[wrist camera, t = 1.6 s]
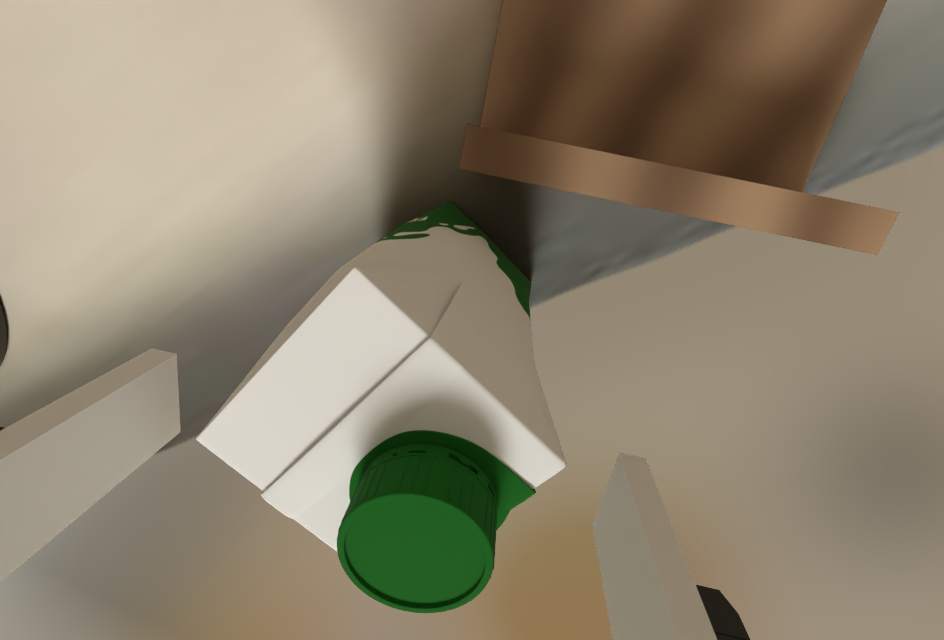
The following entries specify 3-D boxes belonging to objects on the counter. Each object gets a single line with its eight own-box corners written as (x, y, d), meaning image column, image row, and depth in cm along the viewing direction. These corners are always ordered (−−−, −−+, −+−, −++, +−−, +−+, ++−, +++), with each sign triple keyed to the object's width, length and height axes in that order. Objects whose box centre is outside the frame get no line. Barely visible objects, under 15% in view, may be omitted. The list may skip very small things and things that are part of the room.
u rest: (474, 162, 27) (459, 168, 20) (538, -189, 21) (549, -359, 14) (779, 224, 27) (877, 254, 20) (926, -114, 21) (1140, -249, 14)
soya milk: (456, 367, 32) (372, 679, 13) (357, 275, 30) (101, 486, 12) (552, 282, 29) (616, 525, 11) (449, 175, 27) (310, 243, 9)
